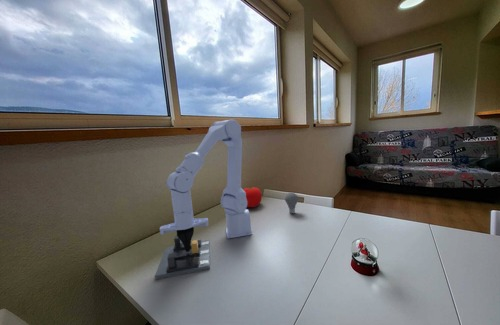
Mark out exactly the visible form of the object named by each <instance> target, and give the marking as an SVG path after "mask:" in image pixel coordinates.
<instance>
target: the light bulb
mask: <svg viewBox="0 0 500 325" xmlns="http://www.w3.org/2000/svg"><path fill="white" fill-rule="evenodd" d="M284 201H285V203H286V204H287V207H288V210H289V214H292V213H293V214H295V213H296V209H295V208H296V205H297V203H298V202H299V197H298V195H297V194H296V193H294V192H288V193H287V194H286V195H285V197H284Z"/></svg>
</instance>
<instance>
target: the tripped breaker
mask: <svg viewBox="0 0 500 325" xmlns="http://www.w3.org/2000/svg"><path fill="white" fill-rule="evenodd" d="M197 240H198V239H194V240H191V241H192V242H191V248H192V254H193V253H198V241H197Z"/></svg>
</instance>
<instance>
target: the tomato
mask: <svg viewBox="0 0 500 325" xmlns="http://www.w3.org/2000/svg"><path fill="white" fill-rule="evenodd" d="M243 190H244V191H245V193H246V199H247V207H246V208H256V207H258V206H259V205H260V204H261V202H262V198H263V197H262V196H263V195H262V191H261V190H260V189H259V188H258V187H255V186H250V187H245V188H244V189H243Z"/></svg>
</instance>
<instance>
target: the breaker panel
mask: <svg viewBox="0 0 500 325" xmlns="http://www.w3.org/2000/svg"><path fill="white" fill-rule="evenodd" d="M173 240H174V241H173V242H174V245H171V246H166V247H165V250H164V252H163V254H162V257H161V260H160V262H159V264H158V267H157V270H156V273H155V275H154V278H155V280H161V279H166V278H170V277H171V278H172V277H177V276H180V275H186V274H187V275H188V274H192V273H197V272H202V271H207V270H210V269H211V266H210V265H211V251H210V250H211V248H210V247H211V241H210V239H206V240H201V239H196V240H197V241H198V253H193V254H192V248H191V243H190V251H189V252H186V250H185V247H184V245H183V243H182V242H181V240H180V239H179V238H178V237H177V235H175V236H174V238H173ZM192 241H193V240H191V242H192Z"/></svg>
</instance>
